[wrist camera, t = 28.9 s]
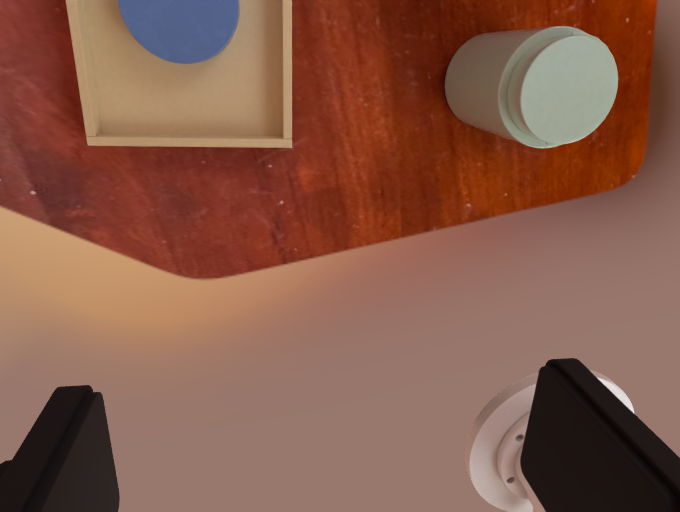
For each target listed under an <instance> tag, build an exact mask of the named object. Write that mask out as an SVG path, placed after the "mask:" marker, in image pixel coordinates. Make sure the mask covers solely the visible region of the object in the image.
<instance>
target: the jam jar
mask: <svg viewBox="0 0 680 512" xmlns="http://www.w3.org/2000/svg"><path fill="white" fill-rule="evenodd" d="M607 47H608V46H607V45H605V44H604V43H603V42H602V41H600V40H599V38H597V37H594V36H591V35H589V34H587V33H586V32H584V31H582V30H580V29H577V28H574V27H568V26H554V27H543V28H531V29H520V30H509V31H498V32H488V33H483V34H480V35H477V36H475V37H473V38H471V39H470V40H468V41H467V42H466V43H464V44H463V45H462V46H461V47H460V48H459V49H458V51H457V52H456V53H455V55H454V56H453V58H452V60H451V62H450V64H449V66H448V69H447V73H446V78H445V94H446V99H447V102H448V104H449V106H450V108H451V110H452V112H453V113H454V114H455V116H456V117H457V118H458V119H460V120H461V121H462V122H464V123H466V124H467V125H470V126H473V127H475V128H478V129H481V130H484V131H487V132H490V133H493V134H495V135H498V136H501V137H504V138H507V139H510V140H513V141H515V142H518V143H521V144H524V145H527V146H530V147H534V148H551V147H556V146H559V145H562V144H567V143H572V142H575V141H578V140H580V139H582V138H584V137H585V136H587V135H589V134H590V133H591V132H593V131H594V130H595V129H596V128H597V127H598V126H599V125H600V124H601V123H602V121H603V120H604V119H605V118H606V116H607V115H608V113H609V111H610V109H611V107H612V105H613V102H614V100H615V96H616V93H617V87H618V72H617V67H616V64H615V61H614V57H613V55H612V54H611V52H610V51H609V49H608V48H607Z"/></svg>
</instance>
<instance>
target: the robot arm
mask: <svg viewBox="0 0 680 512" xmlns="http://www.w3.org/2000/svg"><path fill="white" fill-rule="evenodd" d="M497 469H498V473H499V475H500V477H501V479H502V481H503V482H504V484H505V486H506V487H507V488H508V489H509V490H510V491H511V492H512V493H513V494H515V495H517V496H519V497H521V498H524V499H527V500H529V501H530V503H531V504H532V506H533V511H532V512H680V458H679V457H678V456H677V455H676V454H675V453H674V452H673V451H672V450H671V449H670V448H669V447H668V446H667V445H666V444H665V443H664V442H663V441H662V440H661V439H660V438H659V437H658V436H656V434H655V433H654V432H653V431H651V430H650V429H649V428H648V427H647V426H646V425H645V424H644V423H643V422H642V421H641V420H640V419H639V418H638V417H637V416H636V415H635V414H634V413H633V412H632V411H631V410H630V409H629V408H628V407H627V406H626V405H625V404H624V403H623V402H622V401H621V400H619V399H618V398H617V397H616V396H615V395H614V394H613V393H612V392H611V391H610V390H609V389H608V388H607V387H606V386H605V385H604V384H603V383H602V382H601V381H600V380H599V379H598V378H597V377H596V376H595V375H594V374H593V373H592V372H591V371H590V370H589V369H587V368H586V367H585V366H584V365H583V364H582V363H581V362H580V361H579V360H577V359H574V358H568V359H551V360H549V361H548V362H547V363H546V365H545V366H544V367H541V369H540V371H539V374H538V378H537V383H536V388H535V392H534V397H533V402H532V406H531V411H530V412H529V413H528V414H526V415H525V416H523V417H522V418H521V419H519V420H518V421H517V422H516V423H515V424H514V425H513V426H512V427H511V428H510V430H509V431H508V432H507V434H506V435H505V436H504V438H503V440H502V442H501V444H500V447H499V450H498V453H497ZM118 508H119V488H118V483H117V477H116V471H115V465H114V459H113V454H112V448H111V442H110V436H109V430H108V424H107V418H106V413H105V407H104V401H103V397H102V394H101V393H100V392H93V389H92V388H91V386H89V385H83V386H65V387H58V388H57V389H56V390H55V391H54V392H53V394H52V396H51V397H50V399H49V401H48V402H47V404H46V405H45V407H44V409H43V410H42V412H41V414H40V415H39V417H38V419H37V420H36V422H35V424H34V425H33V427H32V428H31V430H30V432H29V433H28V435H27V436H26V438H25V440H24V441H23V443H22V445H21V446H20V448H19V450H18V451H17V453H16V455H15V456H14V458H13V459H12V460H10V461H5V462H3V463H2V464H0V512H118Z"/></svg>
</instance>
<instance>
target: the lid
mask: <svg viewBox="0 0 680 512" xmlns="http://www.w3.org/2000/svg"><path fill="white" fill-rule="evenodd" d="M118 5H119V9H120V12H121V15H122V18H123V20H124V22H125V24H126V26H127V28H128V30H129V31H130V33H131V34H132V35H133V37H134V38H135V39H136V40H137V41H138V42H139V44H140V45H142V46H143V47H144V48H145V49H146V50H147V51H149V52H150V53H152V54H153V55H155V56H157V57H159V58H161V59H164V60H166V61H169V62H174V63H180V64H192V63H198V62H203V61H206V60H209V59H211V58H213V57H215V56H216V55H218V54H219V53H220V52H221V51H223V50H224V49H225V48H226V46H227V45H228V44H229V43H230V41H231V39H232V38H233V36H234V34H235V31H236V29H237V25H238V21H239V15H240V5H239V0H118Z"/></svg>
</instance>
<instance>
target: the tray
mask: <svg viewBox="0 0 680 512" xmlns="http://www.w3.org/2000/svg"><path fill="white" fill-rule="evenodd" d="M239 5H240V15H239V21H238V25H237V29H236V31H235V34H234V36H233V38H232V39H231V41H230V43H229V44H228V45H227V46H226V48H225V49H224V50H223V51H221V52H220V53H219V54H218V55H216V56H215V57H213V58H211V59H209V60H206V61H203V62H198V63H192V64H180V63H174V62H169V61H166V60H164V59H161V58H159V57H157V56H155V55H153V54H152V53H150V52H149V51H147V50H146V49H145V48H144V47H143V46H142V45H140V44H139V42H138V41H137V40H136V39H135V38H134V37H133V35H132V34H131V33H130V31H129V30H128V28H127V26H126V24H125V22H124V20H123V18H122V15H121V12H120V9H119V5H118V0H66V6H67V13H68V20H69V26H70V33H71V40H72V46H73V53H74V60H75V66H76V73H77V79H78V86H79V93H80V99H81V106H82V113H83V119H84V126H85V132H86V136H87V137H86V139H87V145H88V146H164V147H263V148H292V0H239Z"/></svg>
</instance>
